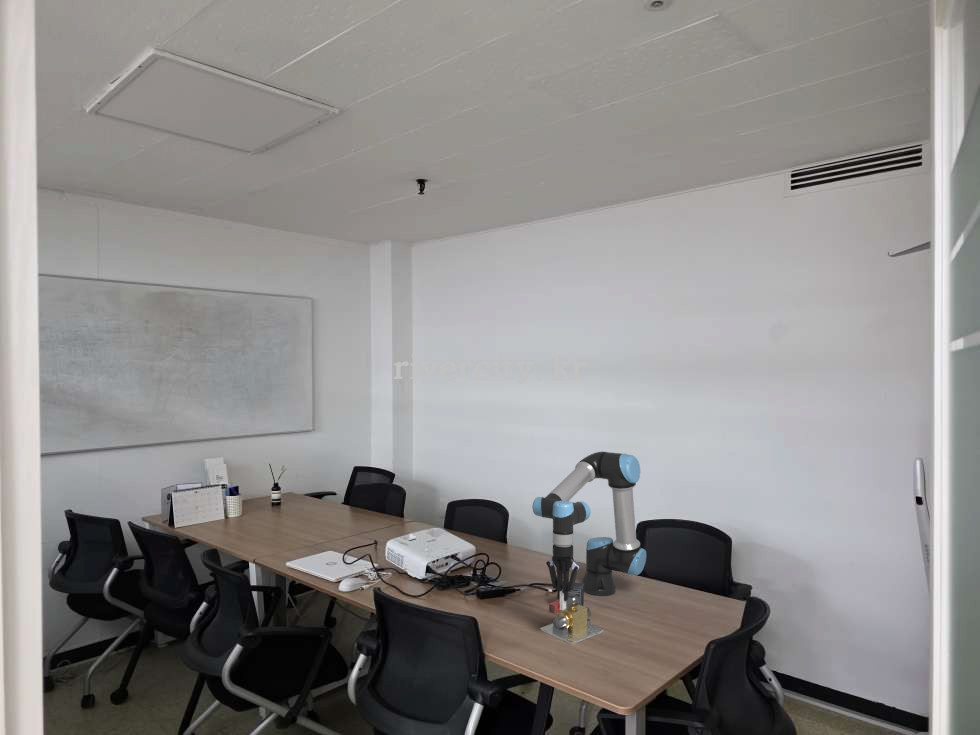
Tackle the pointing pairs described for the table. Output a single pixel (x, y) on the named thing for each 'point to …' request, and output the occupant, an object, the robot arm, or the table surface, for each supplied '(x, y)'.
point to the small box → (577, 592)
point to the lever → (571, 601)
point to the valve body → (572, 625)
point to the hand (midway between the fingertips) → (562, 608)
